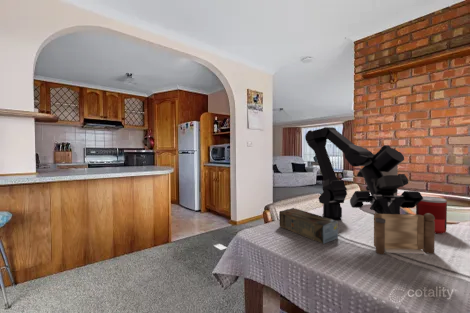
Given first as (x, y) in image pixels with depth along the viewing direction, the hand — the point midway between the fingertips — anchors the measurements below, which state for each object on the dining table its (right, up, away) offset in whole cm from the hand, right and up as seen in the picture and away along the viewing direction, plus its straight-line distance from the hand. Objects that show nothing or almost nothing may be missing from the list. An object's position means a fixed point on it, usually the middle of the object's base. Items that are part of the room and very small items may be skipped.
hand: (397, 225), depth 63 cm
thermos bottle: (+20, -6, +34) cm, 39 cm away
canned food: (+23, -6, +15) cm, 28 cm away
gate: (0, -6, -1) cm, 6 cm away
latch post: (-6, -7, -2) cm, 9 cm away
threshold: (+1, -7, -1) cm, 7 cm away
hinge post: (+8, -7, -1) cm, 10 cm away
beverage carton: (-21, -7, +14) cm, 26 cm away
